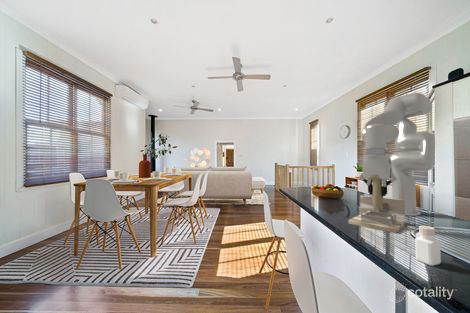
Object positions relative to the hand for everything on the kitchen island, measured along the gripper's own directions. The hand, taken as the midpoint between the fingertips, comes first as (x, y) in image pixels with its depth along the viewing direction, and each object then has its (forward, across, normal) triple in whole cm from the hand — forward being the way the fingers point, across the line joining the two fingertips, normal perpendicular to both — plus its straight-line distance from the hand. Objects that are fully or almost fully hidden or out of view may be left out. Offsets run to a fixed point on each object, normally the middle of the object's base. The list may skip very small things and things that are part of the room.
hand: (377, 194), depth 90 cm
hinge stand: (+13, +1, -1) cm, 13 cm away
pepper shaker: (+13, -19, +28) cm, 36 cm away
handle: (+6, 0, 0) cm, 6 cm away
